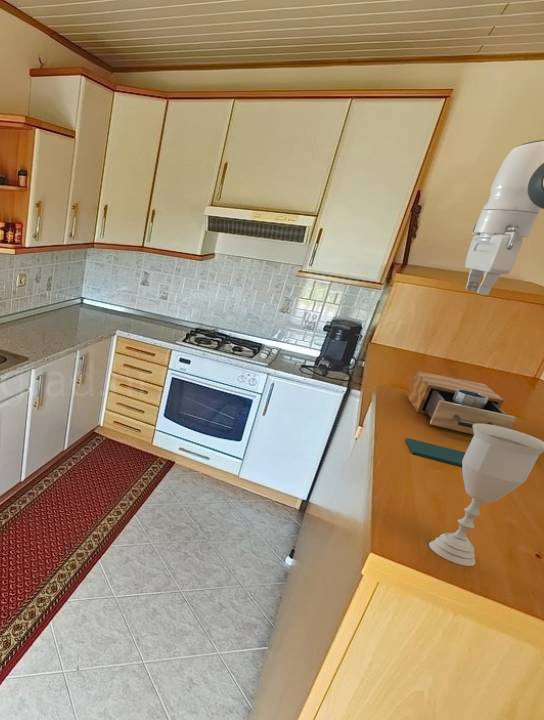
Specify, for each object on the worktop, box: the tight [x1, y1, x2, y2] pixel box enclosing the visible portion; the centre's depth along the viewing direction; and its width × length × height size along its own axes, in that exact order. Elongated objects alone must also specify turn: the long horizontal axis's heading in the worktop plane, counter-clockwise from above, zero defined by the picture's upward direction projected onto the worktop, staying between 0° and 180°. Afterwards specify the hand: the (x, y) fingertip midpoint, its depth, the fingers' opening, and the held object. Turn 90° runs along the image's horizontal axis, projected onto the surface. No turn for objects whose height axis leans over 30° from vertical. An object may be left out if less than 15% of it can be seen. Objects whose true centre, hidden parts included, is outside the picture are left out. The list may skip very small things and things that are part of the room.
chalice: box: [428, 423, 544, 567], centre depth 64 cm, size 7×7×18 cm
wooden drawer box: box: [424, 388, 517, 436], centre depth 112 cm, size 19×13×6 cm
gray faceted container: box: [451, 389, 489, 409], centre depth 114 cm, size 6×6×6 cm
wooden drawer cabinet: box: [406, 370, 505, 416], centre depth 124 cm, size 15×15×8 cm
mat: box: [405, 437, 466, 468], centre depth 98 cm, size 14×8×1 cm, turn 61°
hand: (475, 292), depth 107 cm, fingers open, 8 cm apart
